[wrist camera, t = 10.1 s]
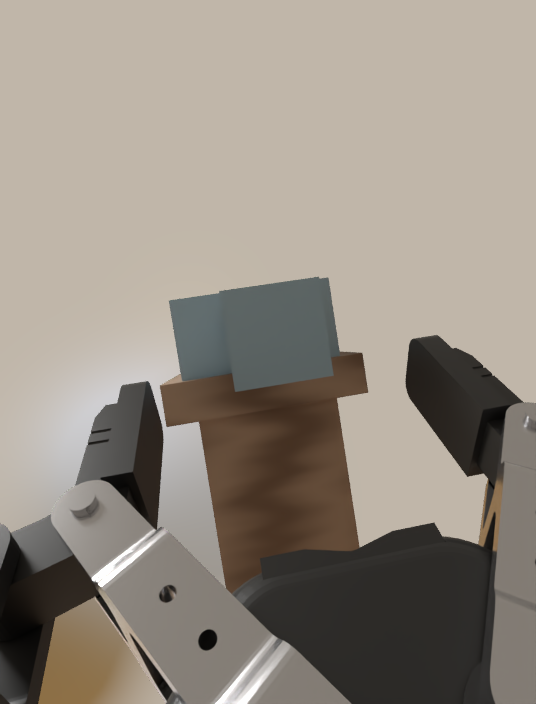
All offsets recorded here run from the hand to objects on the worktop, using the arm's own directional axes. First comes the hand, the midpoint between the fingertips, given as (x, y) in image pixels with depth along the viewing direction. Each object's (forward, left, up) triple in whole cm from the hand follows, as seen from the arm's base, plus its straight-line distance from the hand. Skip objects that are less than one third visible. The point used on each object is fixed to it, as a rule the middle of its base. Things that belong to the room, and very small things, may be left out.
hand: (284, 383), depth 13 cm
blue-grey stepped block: (0, -8, 0) cm, 8 cm away
